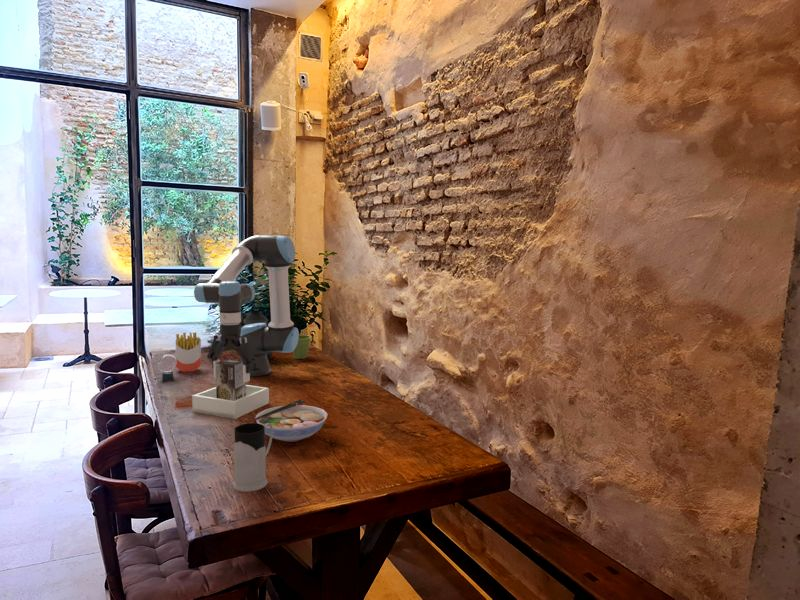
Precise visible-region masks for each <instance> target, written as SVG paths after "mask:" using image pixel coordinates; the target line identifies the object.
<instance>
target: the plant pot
mask: <svg viewBox="0 0 800 600" xmlns="http://www.w3.org/2000/svg"><path fill="white" fill-rule="evenodd" d="M311 339H312V336H311V335H307V334H299V338H298V343H297V346H296V348H295V350H294V351H293V352H292V355H293V358H294V359H299V360H300V359H303V360H304V359H306V358H308V355H309V347H310V342H311Z"/></svg>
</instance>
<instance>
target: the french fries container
mask: <svg viewBox="0 0 800 600" xmlns="http://www.w3.org/2000/svg"><path fill="white" fill-rule="evenodd" d="M175 336H176V337H175V338H176V339H175V358H176V360H175V361H177V365H176V367H175V368H177V369H178V370H179V371H180V372H182V373H185V372H187V371H188V372H195V371H197V370H198V369H199V368H200V367H201V365H202V351H201V350H202V348H201V347H202V346H201V345H202V343H201V342H202V341H201V338H200V336H197V332H196V331H195V332H194V331H193V332H189V335H186V332H183V334H179V333H177V334H175Z"/></svg>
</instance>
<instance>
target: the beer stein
mask: <svg viewBox="0 0 800 600" xmlns="http://www.w3.org/2000/svg"><path fill="white" fill-rule="evenodd" d="M268 321H269V319H268V318H267V317H266V316H265V315H263V314H262V313H261V312H260V311H259V310H250V311H249V312H248V313H247V312H246V313H243V314H242V315H241V322H240V324H241V328H242V327H243V326H245V325H249V324H255V323H266V325H267V326H268ZM240 335H241V334H240ZM272 356H273V352H267V359H268V361H269V360H271V359H272V358H273V357H272Z"/></svg>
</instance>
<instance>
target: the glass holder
mask: <svg viewBox="0 0 800 600" xmlns="http://www.w3.org/2000/svg"><path fill="white" fill-rule="evenodd" d="M268 424H269V426H270V436H269V439H268V440H269V441H268V445H267V447H266V443H265V442H266V441H265V439H266V438H265V437H266V436H265V435H266V434H265V428H266V426H267V425H268ZM233 432H234V443H233V457H234V458H233V461H234V462H233V463H234V464H233V465H234V466H233V468H234V469H233V471H234V472H233V473H234V474H233V475H234V481H233V483H232V488H233V489H234V490H235V491H239V492H255V491H258V490H261V489H264V488H265V487H266V486H267V485H268V483H269V481H268V479H267V477H266V475H267V472H266V471H267V469H266V467H267V466H266V462H267V460H266V458H267V455H268V454H269V451H270V448H271V446H272V442H273V438H272V436H273V427H272V424H270V423H266V424H265V425H262V424H258V423H257V422H254V423H253V422H252V423H251V422H247V423H242V424H240V425H237V426H235V427H234V431H233Z"/></svg>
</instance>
